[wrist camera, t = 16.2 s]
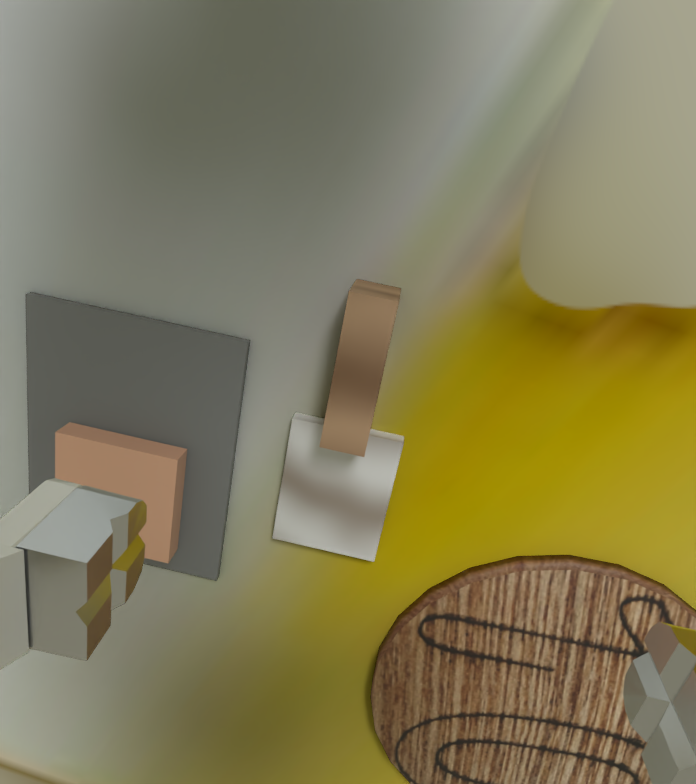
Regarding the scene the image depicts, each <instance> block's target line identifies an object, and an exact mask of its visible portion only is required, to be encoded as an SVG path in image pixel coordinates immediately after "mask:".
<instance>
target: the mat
mask: <svg viewBox="0 0 696 784" xmlns="http://www.w3.org/2000/svg"><path fill="white" fill-rule="evenodd" d="M26 345H27V401H28V457H29V494H30V493H31V492H32V491H34V490H35V489H36V488H37V487H38V486H39V485H41V484H42V483H43V482H44V481H46V480H49V479H53V478H55V432H56V431H58V430H59V429H61V428H62V427H63V426H65V425H66V424H68V423H69V422H71V423H76V424H80V425H85V426H89V427H93V428H98V429H102V430H106V431H111V432H115V433H120V434H124V435H128V436H133V437H137V438H142V439H146V440H150V441H155V442H159V443H163V444H168V445H172V446H177V447H181V448H185V449H187V458H186V468H185V478H184V489H183V499H182V509H181V520H180V530H179V540H178V549H177V551H176V552H175V554H174V555H173V557H172V559H171V560H170V562H169V563H164V562H160V561H156V560H152V559H147V558H144V561H143V563H144V564H148V565H152V566H156V567H161V568H165V569H169V570H173V571H178V572H182V573H186V574H190V575H194V576H199V577H203V578H207V579H211V580H215V581H217V579H218V577H219V572H220V565H221V557H222V549H223V542H224V534H225V527H226V519H227V512H228V504H229V496H230V489H231V481H232V474H233V466H234V458H235V451H236V443H237V436H238V428H239V421H240V413H241V405H242V398H243V390H244V383H245V375H246V368H247V360H248V352H249V345H250V340H247V339H242V338H237V337H233V336H228V335H224V334H219V333H215V332H210V331H205V330H201V329H196V328H192V327H187V326H183V325H178V324H173V323H169V322H164V321H160V320H155V319H151V318H146V317H141V316H137V315H132V314H128V313H123V312H119V311H114V310H109V309H105V308H100V307H96V306H91V305H87V304H82V303H77V302H73V301H68V300H64V299H59V298H55V297H50V296H45V295H41V294H36V293H32V292H30V293H27V294H26Z"/></svg>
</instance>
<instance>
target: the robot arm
mask: <svg viewBox="0 0 696 784" xmlns="http://www.w3.org/2000/svg"><path fill="white" fill-rule="evenodd" d="M146 521H147V505H146V504H145V502H144V501H143V500H140V499H136V498H132V497H128V496H124V495H120V494H117V493H113V492H109V491H105V490H101V489H97V488H93V487H89V486H86V485H84V486H82V485H80V484H76V483H72V482H68V481H64V480H60V479H56V478H53V479H49V480H46V481H44V482H43V483H42V484H41V485H39V486H38V487H37V488H36V489H35V490H34V491H32V492H31V493H30V494H29V495H28V496H27V497H25V498H24V499H23V500H22V501H21V502H20V503H18V504H17V505H16V506H15V507H14V508H13V509H11V510H10V511H9V512H8V513H7V514H6V515H4V516H3V517H2V518H1V519H0V670H1V669H2V668H4V667H6V666H7V665H9V664H11V663H12V662H14V661H15V660H17V659H19V658H20V657H22V656H24V655H25V654H27V653H28V652H29V649H33V650H38V651H43V652H48V653H52V654H57V655H62V656H66V657H71V658H76V659H80V660H85V661H87V660H88V658H89V657H90V655H91V654H92V652H93V651H94V649H95V648H96V646H97V645H98V643H99V642H100V640H101V639H102V637H103V636H104V634H105V633H106V631H107V630H108V628H109V627H110V623H111V610H113V609H115V608H117V607H119V606H121V605H123V604H125V603H126V601H127V599H128V598H129V596H130V595H131V593H132V592H133V590H134V588H135V585H136V583H137V581H138V578H139V576H140V573H141V570H142V566H143V561H144V556H145V544H144V542H143V541H142V539H141V537H140V536H139V534H138V533H139V532H140V531H141V529H142V528H143V526H144V525H145V524H146ZM644 641H645V644H646V647H647V650H648V653H646V654H644V655H642V656H640V657H638V658H636V659H634V660H633V661H632V663H631V665H630V667H629V669H628V671H627V673H626V675H625V680H624V689H623V698H624V706H625V711H626V714H627V716H628V719H629V722H630V725H631V726H632V727H633V729H634V730H635V731H636V732H637V733H638V734H639V735H640V736H641V737H642V738H643V739H644V740H645V741H646V744H645V747H644V749H643V751H642V754H641V755H642V758H643V761H644V763H645V766H646V769H647V771H648V774H649V777H650V779H651V782H652V784H696V630H694V629H689V628H685V627H681V626H676V625H672V624H667V623H663V622H658V623H657V624H655V625H654V626H652V627H651V628H650V630H649V632H648V634H647V635H646V637H645V639H644Z"/></svg>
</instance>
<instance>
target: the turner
mask: <svg viewBox="0 0 696 784" xmlns="http://www.w3.org/2000/svg"><path fill="white" fill-rule="evenodd" d="M400 292H401V288H397V287H393V286H388V285H383V284H378V283H374V282H369V281H364V280H359V279H356V281H355V282H354V284H353V286H352V287H351V289H350V290H349V293H348V298H347V304H346V309H345V314H344V319H343V325H342V330H341V335H340V341H339V346H338V351H337V356H336V362H335V367H334V372H333V377H332V383H331V388H330V393H329V398H328V404H327V409H326V414H325V419H324V418H319V417H315V416H310V415H306V414H301V413H297V412H295V414H294V416H293V418H292V423H291V429H290V435H289V441H288V447H287V453H286V459H285V465H284V471H283V477H282V483H281V489H280V495H279V501H278V507H277V513H276V519H275V525H274V531H273V537H272V538H273V539H277V540H282V541H286V542H290V543H295V544H299V545H303V546H308V547H312V548H316V549H321V550H325V551H329V552H334V553H338V554H342V555H347V556H351V557H355V558H360V559H364V560H368V561H373V562H374V560H375V556H376V552H377V548H378V544H379V540H380V536H381V532H382V528H383V524H384V520H385V516H386V512H387V508H388V504H389V500H390V496H391V492H392V488H393V484H394V480H395V476H396V472H397V468H398V464H399V460H400V456H401V452H402V448H403V444H404V436H401V435H396V434H392V433H387V432H382V431H378V430H373V429H371V425H372V420H373V416H374V411H375V407H376V402H377V398H378V393H379V389H380V384H381V380H382V376H383V371H384V367H385V362H386V358H387V353H388V349H389V344H390V340H391V335H392V331H393V326H394V322H395V318H396V313H397V309H398V304H399V299H400Z"/></svg>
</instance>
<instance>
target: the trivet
mask: <svg viewBox="0 0 696 784" xmlns="http://www.w3.org/2000/svg"><path fill="white" fill-rule="evenodd" d="M658 622H663V623H667V624H672V625H676V626H681V627H685V628H689V629H694V630H696V610H695V609H693V608H692V607H691V606H690V605H689V604H687V603H686V602H685V601H684V600H682V599H681V598H680V597H679V596H677V595H676V594H675V593H674V592H672V591H671V590H670V589H669V588H668V587H666V586H665V585H664V584H662V583H659V582H657V581H655V580H653V579H650V578H648V577H646V576H644V575H641V574H639V573H637V572H635V571H632V570H630V569H628V568H626V567H623V566H621V565H619V564H613V563H608V562H603V561H598V560H593V559H587V558H582V557H577V556H572V555H545V556H516V557H512V558H508V559H504V560H500V561H496V562H492V563H488V564H483V565H479V566H475V567H471V568H468V569H466V570H464V571H462V572H460V573H458V574H457V575H455V576H453V577H451V578H449V579H447V580H445V581H443V582H441V583H439V584H437V585H435V586H433V587H431V588H429V589H428V590H427V591H426V592H424V593H423V594H422V595H421V596H420V597H419V598H418V599H417V600H416V601H414V602H413V603H412V604H411V605H410V606H409V607H408V608H407V609H405V610H404V611H403V612H402V613H401V614H400V615H399V616H398V617H397V619H396V621H395V622H394V624H393V626H392V627H391V629H390V630H389V632H388V634H387V635H386V637H385V639H384V640H383V642H382V644H381V645H380V647H379V652H378V656H377V661H376V665H375V670H374V675H373V679H372V689H371V703H372V710H373V718H374V726H375V731H376V733H377V735H378V737H379V739H380V741H381V743H382V745H383V748H384V750H385V752H386V754H387V756H388V758H389V760H390V762H391V763H392V764H393V765H394V766H395V767H396V768H397V769H398V770H399V772H400V773H401V774H402V775H403V776H404V777H405V778H406V779H407V780H408V781H409V783H410V784H652V782H651V779H650V777H649V774H648V771H647V769H646V766H645V763H644V761H643V758H642V755H641V754H642V751H643V749H644V747H645V744H646V741H645V740H644V739H643V738H642V737H641V736H640V735H639V734H638V733H637V732H636V731H635V730H634V729H633V727H632V726H631V725H630V722H629V719H628V716H627V714H626V711H625V706H624V698H623V689H624V680H625V675H626V673H627V671H628V669H629V667H630V665H631V663H632V661H633V660H634V659H636V658H638V657H640V656H642V655H644V654H646V653H648V650H647V647H646V644H645V641H644V639H645V637H646V635H647V634H648V632H649V630H650V628H651V627H652V626H654V625H655V624H657V623H658Z"/></svg>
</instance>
